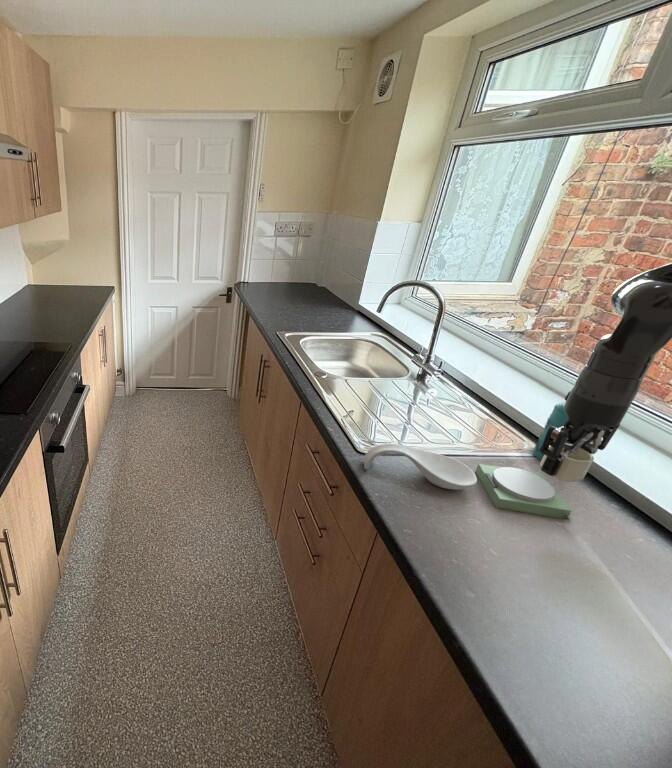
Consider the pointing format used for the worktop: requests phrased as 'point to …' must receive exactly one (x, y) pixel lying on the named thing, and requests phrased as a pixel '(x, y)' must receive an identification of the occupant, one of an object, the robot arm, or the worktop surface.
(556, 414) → the beverage bottle
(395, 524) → the worktop surface
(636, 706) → the worktop surface
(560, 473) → the bowl
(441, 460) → the spoon rest
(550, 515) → the scale
